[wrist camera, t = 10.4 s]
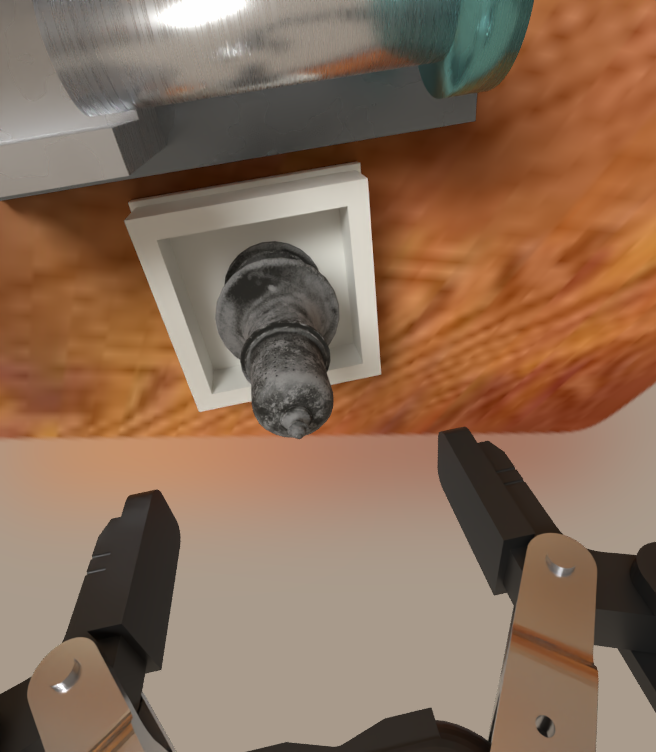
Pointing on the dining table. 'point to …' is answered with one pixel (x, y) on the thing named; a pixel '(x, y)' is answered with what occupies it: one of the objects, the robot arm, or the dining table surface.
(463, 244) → the dining table surface
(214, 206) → the holder
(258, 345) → the dark grey turned piece
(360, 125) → the bearing block
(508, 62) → the shaft
